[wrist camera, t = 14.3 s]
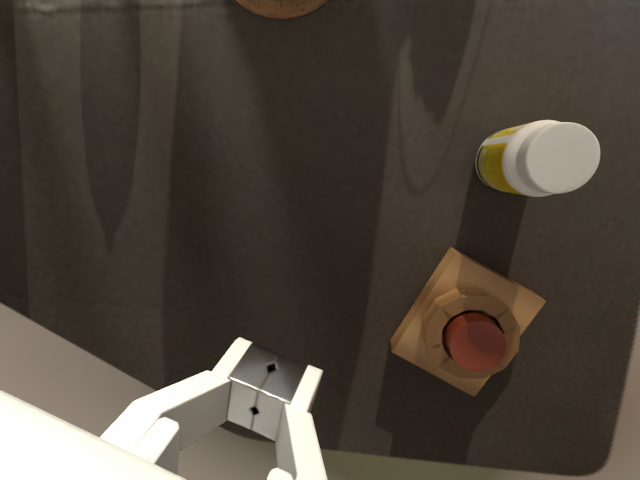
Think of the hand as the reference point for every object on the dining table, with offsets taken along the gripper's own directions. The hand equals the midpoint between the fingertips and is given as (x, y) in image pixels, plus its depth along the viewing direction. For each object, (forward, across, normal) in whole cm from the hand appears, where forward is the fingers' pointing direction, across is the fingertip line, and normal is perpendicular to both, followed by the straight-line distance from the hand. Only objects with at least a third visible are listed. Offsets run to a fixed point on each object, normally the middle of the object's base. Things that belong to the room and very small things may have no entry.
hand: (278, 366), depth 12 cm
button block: (+20, +10, -9) cm, 24 cm away
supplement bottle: (+24, +9, +4) cm, 26 cm away
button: (+17, +11, -8) cm, 21 cm away
